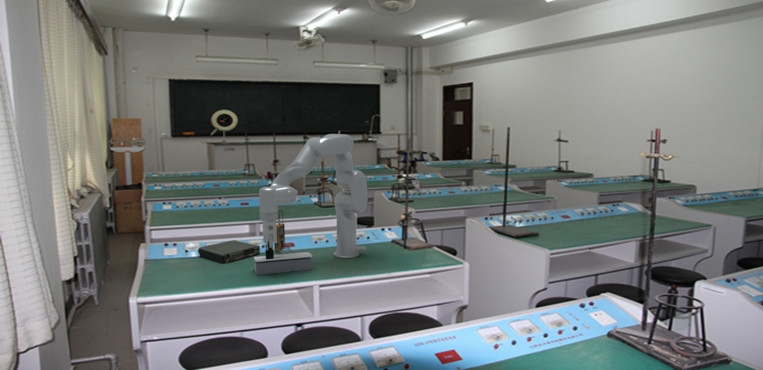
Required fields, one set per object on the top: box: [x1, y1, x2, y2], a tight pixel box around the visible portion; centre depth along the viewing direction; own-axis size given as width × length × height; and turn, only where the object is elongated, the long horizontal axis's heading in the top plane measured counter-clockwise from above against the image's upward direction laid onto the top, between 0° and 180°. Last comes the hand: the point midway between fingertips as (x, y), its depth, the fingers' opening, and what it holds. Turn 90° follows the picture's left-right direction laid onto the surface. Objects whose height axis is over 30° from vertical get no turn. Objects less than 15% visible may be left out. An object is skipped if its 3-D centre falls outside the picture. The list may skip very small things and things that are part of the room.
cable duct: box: [253, 257, 313, 276], centre depth 210 cm, size 24×7×5 cm, turn 111°
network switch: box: [198, 239, 261, 264], centre depth 233 cm, size 23×23×5 cm
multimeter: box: [273, 210, 293, 255], centre depth 243 cm, size 15×10×20 cm
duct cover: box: [253, 252, 313, 262], centre depth 210 cm, size 24×9×1 cm, turn 111°
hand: (269, 258), depth 205 cm, fingers closed
